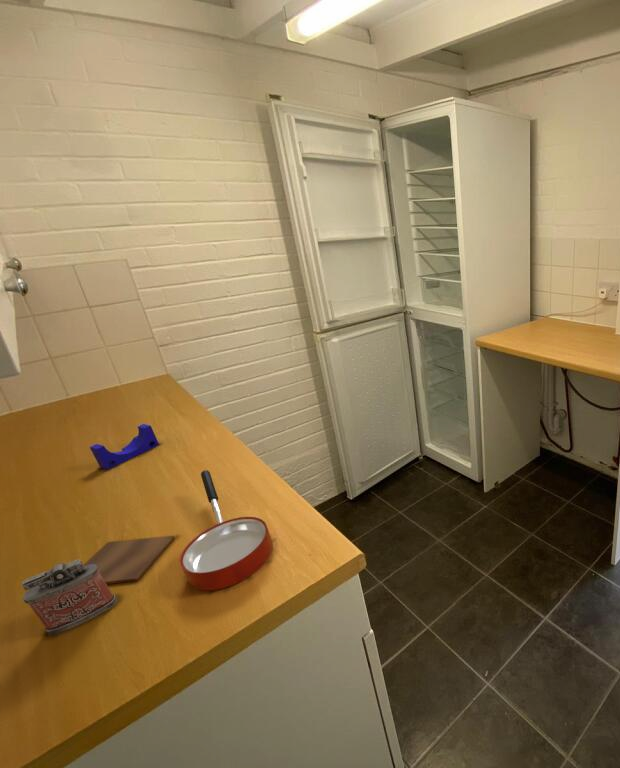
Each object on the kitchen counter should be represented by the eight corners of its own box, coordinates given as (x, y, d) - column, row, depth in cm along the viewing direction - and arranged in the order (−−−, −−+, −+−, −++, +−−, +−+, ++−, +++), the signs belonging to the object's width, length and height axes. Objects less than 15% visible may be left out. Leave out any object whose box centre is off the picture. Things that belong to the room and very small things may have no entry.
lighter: (116, 593, 69) (89, 548, 65) (117, 606, 67) (89, 560, 63) (48, 624, 64) (14, 578, 60) (46, 639, 62) (11, 592, 58)
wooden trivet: (62, 588, 71) (61, 586, 70) (109, 544, 80) (107, 542, 79) (138, 580, 72) (136, 578, 71) (175, 538, 81) (174, 535, 80)
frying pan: (163, 514, 87) (151, 490, 84) (233, 485, 95) (224, 462, 93) (198, 606, 66) (184, 578, 64) (284, 558, 75) (274, 531, 72)
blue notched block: (148, 442, 115) (140, 423, 113) (159, 444, 114) (150, 425, 111) (96, 466, 105) (85, 446, 102) (107, 469, 103) (96, 449, 101)
